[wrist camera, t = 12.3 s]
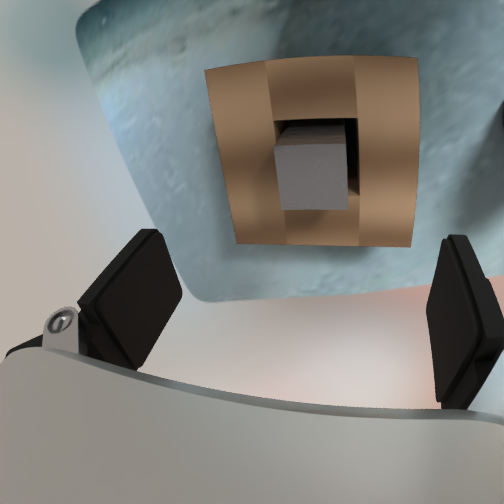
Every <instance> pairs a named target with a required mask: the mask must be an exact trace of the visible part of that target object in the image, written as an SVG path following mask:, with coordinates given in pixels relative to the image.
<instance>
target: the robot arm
mask: <svg viewBox="0 0 504 504" xmlns="http://www.w3.org/2000/svg"><path fill="white" fill-rule="evenodd" d="M181 298H182V288H181V285H180V282H179V280H178V277H177V274H176V271H175V269H174V266H173V263H172V260H171V257H170V255H169V252H168V249H167V246H166V243H165V240H164V237H163V235H162V234H161V233H159V231H158V230H157V229H141V230H140V231H139V232H138V233H137V234H136V235H135V236H134V237H133V238H132V239H131V240H130V241H129V242H128V244H127V245H126V246H125V247H124V248H123V249H122V250H121V251H120V252H119V253H118V255H117V256H116V257H115V258H114V259H113V260H112V261H111V263H110V264H109V265H108V266H107V267H106V268H105V269H104V270H103V272H102V273H101V274H100V275H99V276H98V278H97V279H96V280H95V281H94V282H93V283H92V285H91V286H90V287H89V288H88V289H87V290H86V292H85V293H84V294H83V295H82V297H81V298H80V299H79V300H78V301H77V303H78V305H79V307H80V308H81V311H80V312H79V313H78V311H77V310H76V309H75V308H73V307H64V308H61V309H59V310H57V311H56V312H54V313H53V314H52V315H51V316H50V317H49V318H48V319H47V321H46V323H45V326H44V331H43V334H42V335H40V336H38V337H35V338H33V339H31V340H29V341H27V342H25V343H22V344H21V345H18V346H16V347H14V348H12V349H10V350H9V351H8V352H7V354H6V357H5V359H4V360H3V362H2V363H1V364H0V504H504V318H503V315H502V312H501V309H500V306H499V304H498V301H497V298H496V296H495V293H494V291H493V288H492V285H491V283H490V281H489V279H487V278H485V276H484V273H483V271H482V269H481V266H480V264H479V262H478V259H477V257H476V255H475V253H474V250H473V248H472V246H471V244H470V242H469V240H468V238H467V236H466V235H454V234H450V235H448V237H447V239H443V240H442V243H441V247H440V252H439V257H438V261H437V266H436V270H435V274H434V278H433V282H432V286H431V290H430V294H429V298H428V301H427V307H426V315H427V321H428V328H429V335H430V343H431V350H432V359H433V369H434V380H435V393H436V401H437V402H441V409H387V408H364V407H346V406H332V405H320V404H310V403H300V402H292V401H291V402H290V401H283V400H276V399H268V398H262V397H255V396H248V395H242V394H236V393H231V392H226V391H220V390H215V389H210V388H205V387H200V386H195V385H191V384H186V383H182V382H177V381H173V380H169V379H164V378H161V377H156V376H153V375H149V374H145V373H141V372H137V369H138V368H139V367H141V366H142V365H143V364H144V362H145V360H146V358H147V357H148V355H149V353H150V352H151V350H152V348H153V346H154V344H155V343H156V341H157V339H158V337H159V336H160V334H161V332H162V330H163V329H164V327H165V326H166V324H167V322H168V320H169V319H170V317H171V315H172V314H173V312H174V310H175V308H176V307H177V305H178V303H179V302H180V300H181Z"/></svg>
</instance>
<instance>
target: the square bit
mask: <svg viewBox="0 0 504 504" xmlns="http://www.w3.org/2000/svg"><path fill="white" fill-rule="evenodd" d="M273 148H274V155H275V163H276V171H277V178H278V186H279V194H280V202H281V210H348V184H347V157H346V139H345V125H344V118H314V119H293V120H292V121H291V122H290V124H289V125H288V127H287V128H286V129H285V131H284V132H283V133H282V135H281V136H280V137H279V139H278V140H277V142H276V143H275V144H274V146H273Z"/></svg>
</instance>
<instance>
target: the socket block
mask: <svg viewBox="0 0 504 504" xmlns="http://www.w3.org/2000/svg"><path fill="white" fill-rule="evenodd" d="M204 72H205V77H206V83H207V88H208V94H209V99H210V105H211V110H212V116H213V121H214V126H215V132H216V137H217V142H218V148H219V153H220V158H221V164H222V169H223V174H224V179H225V185H226V190H227V195H228V200H229V205H230V211H231V216H232V221H233V226H234V231H235V236H236V241H237V244H280V245H330V246H373V247H411V241H412V234H413V226H414V217H415V207H416V197H417V184H418V169H419V146H420V96H419V73H418V59H417V58H411V57H396V56H372V55H336V56H312V57H297V58H285V59H275V60H266V61H257V62H250V63H243V64H236V65H230V66H224V67H218V68H213V69H208V70H204ZM314 118H355V136H356V167H357V168H347V184H348V210H281V202H280V194H279V186H278V178H277V171H276V163H275V155H274V148H273V146H274V144H275V143H276V142H277V140H278V139H279V137H280V136H281V135H282V133H283V132H284V131H285V129H286V128H287V127H288V125H289V121H288V120H292V119H314Z"/></svg>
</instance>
